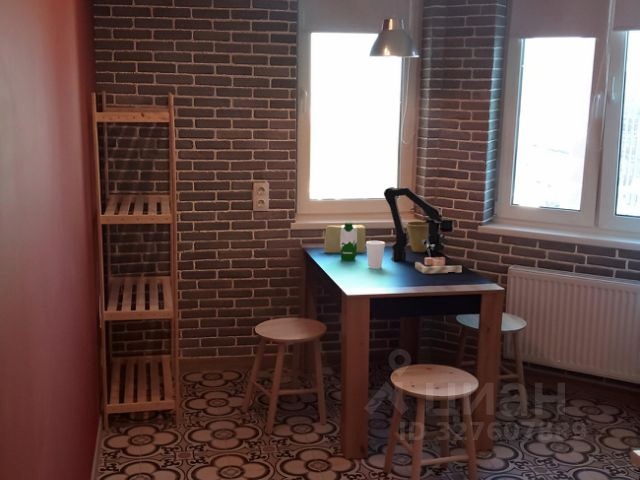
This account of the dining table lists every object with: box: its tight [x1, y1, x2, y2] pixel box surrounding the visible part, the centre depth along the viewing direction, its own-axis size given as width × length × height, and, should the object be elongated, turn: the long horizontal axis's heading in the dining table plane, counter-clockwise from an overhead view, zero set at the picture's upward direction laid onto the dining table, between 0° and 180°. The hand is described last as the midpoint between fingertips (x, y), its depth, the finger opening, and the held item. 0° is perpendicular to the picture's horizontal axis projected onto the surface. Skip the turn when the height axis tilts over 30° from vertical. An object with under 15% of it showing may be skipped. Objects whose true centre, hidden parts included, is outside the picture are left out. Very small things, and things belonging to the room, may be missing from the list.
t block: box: [424, 256, 446, 266], centre depth 400 cm, size 10×10×4 cm
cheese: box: [324, 224, 366, 254], centre depth 432 cm, size 22×10×15 cm, turn 100°
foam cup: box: [365, 240, 386, 270], centre depth 393 cm, size 10×9×13 cm
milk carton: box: [340, 222, 357, 262], centre depth 411 cm, size 9×9×20 cm
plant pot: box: [406, 220, 428, 253], centre depth 437 cm, size 15×15×16 cm
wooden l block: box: [414, 261, 463, 275], centre depth 390 cm, size 20×13×3 cm, turn 101°
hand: (432, 260), depth 407 cm, fingers closed
